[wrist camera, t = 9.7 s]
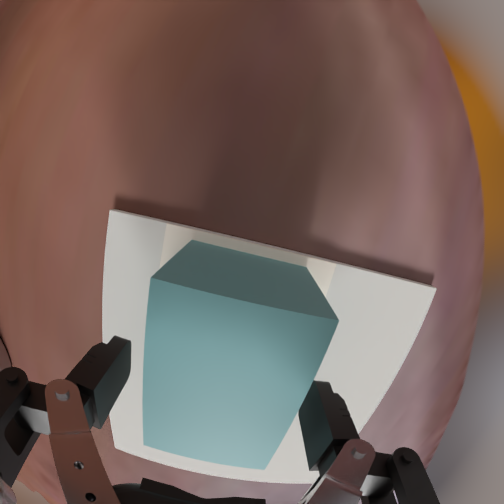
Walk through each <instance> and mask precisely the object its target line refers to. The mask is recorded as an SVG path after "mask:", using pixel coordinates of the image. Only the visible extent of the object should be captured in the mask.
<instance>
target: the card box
mask: <svg viewBox="0 0 504 504" xmlns="http://www.w3.org/2000/svg"><path fill="white" fill-rule="evenodd" d="M338 323H339V319H338V317H337V316H336V314H335V312H334V311H333V309H332V308H331V306H330V304H329V303H328V301H327V299H326V298H325V296H324V294H323V293H322V291H321V290H320V288H319V286H318V285H317V283H316V282H315V280H314V278H313V277H312V275H311V274H310V272H309V270H308V269H307V267H304V266H300V265H296V264H292V263H287V262H283V261H279V260H275V259H271V258H266V257H262V256H258V255H254V254H250V253H246V252H241V251H237V250H233V249H229V248H225V247H221V246H216V245H212V244H208V243H204V242H200V241H196V240H191V241H190V242H189V243H187V244H186V245H185V246H184V247H183V248H182V249H181V250H180V251H179V252H177V253H176V254H175V255H174V256H173V257H172V258H171V259H170V260H169V261H168V262H167V263H165V264H164V265H163V266H162V267H161V268H160V269H159V270H158V271H157V272H156V273H155V274H154V275H153V276H152V277H151V278H150V286H149V295H148V305H147V315H146V327H145V341H144V359H143V397H142V409H143V445H145V446H148V447H151V448H155V449H158V450H161V451H165V452H168V453H172V454H176V455H180V456H184V457H188V458H192V459H197V460H201V461H206V462H211V463H217V464H222V465H229V466H235V467H243V468H251V469H260V470H265V468H266V467H267V465H268V464H269V462H270V460H271V459H272V457H273V455H274V454H275V452H276V450H277V449H278V447H279V445H280V443H281V442H282V440H283V438H284V436H285V435H286V433H287V431H288V429H289V427H290V426H291V424H292V422H293V420H294V418H295V416H296V414H297V412H298V410H299V409H300V407H301V405H302V403H303V401H304V399H305V397H306V395H307V393H308V391H309V389H310V386H311V384H312V382H313V380H314V378H315V376H316V374H317V372H318V369H319V367H320V365H321V363H322V361H323V358H324V356H325V354H326V352H327V349H328V347H329V345H330V342H331V340H332V337H333V335H334V333H335V330H336V328H337V325H338Z"/></svg>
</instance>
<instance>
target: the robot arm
mask: <svg viewBox="0 0 504 504" xmlns="http://www.w3.org/2000/svg"><path fill="white" fill-rule="evenodd" d="M130 371H131V341H130V340H127V339H124V338H121V337H119V336H116V335H115V336H113V337H112V339H111V340H110V341H109V342H108V343H107V344H105V343H103V342H101V343H99V344H97V345H95V346H93V347H92V348H91V349H90V350H89V351H88V352H87V354H86V355H85V356H84V357H83V358H82V360H80V362H79V363H78V364H77V365H76V366H75V367H74V369H73V370H72V371H71V372H70V373H69V375H68V376H67V377H66V378H65V379H56V380H53V381H51V382H49V383H48V384H47V385H43V384H39V383H35V382H31V381H28V378H27V375H26V373H25V372H24V371H23V370H21V369H19V368H17V367H11V363H10V360H9V357H8V354H7V352H6V349H5V347H4V345H3V343H2V341H1V339H0V504H16V496H15V494H14V492H13V490H12V489H11V487H12V485H13V483H14V481H15V479H16V477H17V475H18V473H19V472H20V470H21V468H22V466H23V464H24V462H25V460H26V458H27V457H28V455H29V453H30V451H31V449H32V448H33V446H34V444H35V442H36V441H37V439H38V437H39V435H40V434H41V433H43V434H47V435H49V439H50V444H51V449H52V453H53V458H54V462H55V466H56V469H57V473H58V476H59V480H60V483H61V486H62V490H63V493H64V495H65V498H66V501H67V504H266V500H265V499H254V498H242V497H229V498H212V499H204V498H200V497H198V496H195V495H193V494H190V493H188V492H185V491H183V490H181V489H179V488H176V487H174V486H171V485H167V484H164V483H160V482H156V481H153V480H149V479H146V478H143V479H142V482H141V484H137V483H126V484H118V485H114V486H112V485H111V483H110V480H109V478H108V476H107V473H106V471H105V469H104V466H103V464H102V461H101V458H100V456H99V453H98V450H97V448H96V445H95V442H94V439H93V436H92V433H91V431H90V429H91V428H92V426H94V427H96V428H98V429H101V428H102V426H103V424H104V422H105V420H106V418H107V416H108V415H109V413H110V411H111V409H112V407H113V405H114V404H115V402H116V400H117V398H118V396H119V395H120V393H121V391H122V389H123V388H124V386H125V384H126V382H127V380H128V378H129V375H130ZM298 416H299V421H300V426H301V431H302V437H303V442H304V447H305V452H306V457H307V462H308V467H309V471H319V477H318V478H317V479H316V480H315V482H314V483H313V484H312V486H311V487H310V488H309V490H308V491H307V492H306V494H305V495H304V496H303V497H302V499H301V500H300V501H299V502H298V504H358V502H359V500H360V498H361V500H362V504H397V502H396V499H395V496H394V493H393V491H394V490H395V493H396V496H397V499H398V502H399V504H440V503H439V500H438V498H437V496H436V493H435V491H434V489H433V486H432V484H431V482H430V479H429V477H428V475H427V473H426V470H425V468H424V466H423V464H422V462H421V460H420V457H419V456H418V454H417V453H416V452H415V451H414V450H412V449H410V448H405V447H402V448H398V449H396V450H395V451H394V453H393V454H392V455H391V454H384V453H378V452H375V450H374V448H373V447H372V445H371V444H369V443H368V442H366V441H364V440H361V439H360V437H359V435H358V432H357V430H356V427H355V425H354V422H353V420H352V417H350V413H349V410H348V408H347V405H346V403H345V400H344V399H343V398H342V397H341V396H340V395H339V394H338V393H334V392H333V390H332V387H331V385H330V383H329V382H326V381H316V380H313V382H312V384H311V386H310V389H309V391H308V393H307V395H306V397H305V399H304V401H303V403H302V405H301V407H300V409H299V411H298Z"/></svg>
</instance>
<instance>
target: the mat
mask: <svg viewBox="0 0 504 504" xmlns="http://www.w3.org/2000/svg"><path fill="white" fill-rule="evenodd" d="M191 240H196V241H200V242H204V243H208V244H212V245H216V246H221V247H225V248H229V249H233V250H237V251H241V252H246V253H250V254H254V255H258V256H262V257H266V258H271V259H275V260H279V261H283V262H287V263H292V264H296V265H300V266H304V267H307V269H308V270H309V272H310V274H311V275H312V277H313V278H314V280H315V282H316V283H317V285H318V286H319V288H320V290H321V291H322V293H323V294H324V296H325V298H326V299H327V301H328V303H329V304H330V306H331V308H332V309H333V311H334V312H335V314H336V316H337V317H338V319H339V323H338V325H337V328H336V330H335V333H334V335H333V337H332V340H331V342H330V345H329V347H328V349H327V352H326V354H325V356H324V358H323V361H322V363H321V365H320V367H319V369H318V372H317V374H316V376H315V378H314V380H316V381H326V382H329V383H330V385H331V387H332V390H333V392H334V393H338V394H339V395H340V396H341V397H342V398H343V399H344V400H345V403H346V405H347V408H348V410H349V413H350V417H352V420H353V422H354V425H355V427H356V430H357V432H358V434H359V432H360V431H361V429H362V428H363V427H364V425H365V424H366V422H367V421H368V420H369V418H370V417H371V415H372V414H373V412H374V411H375V409H376V408H377V406H378V405H379V403H380V401H381V400H382V398H383V397H384V395H385V393H386V392H387V390H388V388H389V387H390V385H391V383H392V382H393V380H394V378H395V377H396V375H397V373H398V371H399V369H400V368H401V366H402V364H403V362H404V360H405V358H406V356H407V354H408V353H409V351H410V349H411V347H412V345H413V343H414V340H415V338H416V336H417V334H418V332H419V330H420V328H421V326H422V323H423V321H424V319H425V316H426V314H427V312H428V309H429V307H430V305H431V302H432V300H433V297H434V295H435V292H436V288H435V287H433V286H432V285H428V284H424V283H420V282H416V281H412V280H408V279H405V278H401V277H397V276H393V275H389V274H385V273H381V272H377V271H373V270H369V269H365V268H361V267H357V266H353V265H349V264H345V263H341V262H337V261H333V260H329V259H325V258H321V257H317V256H313V255H309V254H305V253H301V252H297V251H293V250H289V249H285V248H280V247H276V246H272V245H268V244H264V243H260V242H255V241H251V240H247V239H243V238H239V237H234V236H230V235H226V234H222V233H217V232H213V231H209V230H205V229H200V228H196V227H192V226H187V225H183V224H179V223H174V222H170V221H166V220H161V219H157V218H153V217H148V216H144V215H139V214H135V213H130V212H126V211H121V210H117V209H113V210H110V213H109V220H108V228H107V237H106V247H105V259H104V274H103V299H102V333H103V343H105V344H107V343H108V342H109V341H110V340H111V339H112V337H113V336H115V335H116V336H119V337H121V338H124V339H127V340H130V341H131V371H130V375H129V378H128V380H127V382H126V384H125V386H124V388H123V389H122V391H121V393H120V395H119V396H118V398H117V400H116V402H115V404H114V405H113V407H112V409H111V411H110V413H109V416H110V422H111V428H112V434H113V439H114V444H115V448H117V449H119V450H122V451H124V452H127V453H130V454H133V455H136V456H139V457H142V458H145V459H148V460H151V461H154V462H158V463H161V464H164V465H168V466H172V467H176V468H180V469H184V470H188V471H193V472H197V473H202V474H207V475H213V476H219V477H225V478H232V479H239V480H248V481H258V482H271V483H314V482H315V480H316V479H317V478H318V477H319V471H309V467H308V462H307V457H306V452H305V447H304V442H303V437H302V431H301V426H300V421H299V416H298V412H297V414H296V416H295V418H294V420H293V422H292V424H291V426H290V427H289V429H288V431H287V433H286V435H285V436H284V438H283V440H282V442H281V443H280V445H279V447H278V449H277V450H276V452H275V454H274V455H273V457H272V459H271V460H270V462H269V464H268V465H267V467H266V468H265V470H260V469H251V468H243V467H235V466H229V465H222V464H217V463H211V462H206V461H201V460H197V459H192V458H188V457H184V456H180V455H176V454H172V453H168V452H165V451H161V450H158V449H155V448H151V447H148V446H145V445H143V409H142V397H143V359H144V341H145V327H146V315H147V305H148V295H149V286H150V278H151V277H152V276H153V275H154V274H155V273H156V272H157V271H158V270H159V269H160V268H161V267H162V266H163V265H164V264H165V263H167V262H168V261H169V260H170V259H171V258H172V257H173V256H174V255H175V254H176V253H177V252H179V251H180V250H181V249H182V248H183V247H184V246H185V245H186V244H187V243H189V242H190V241H191ZM298 411H299V410H298Z"/></svg>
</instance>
